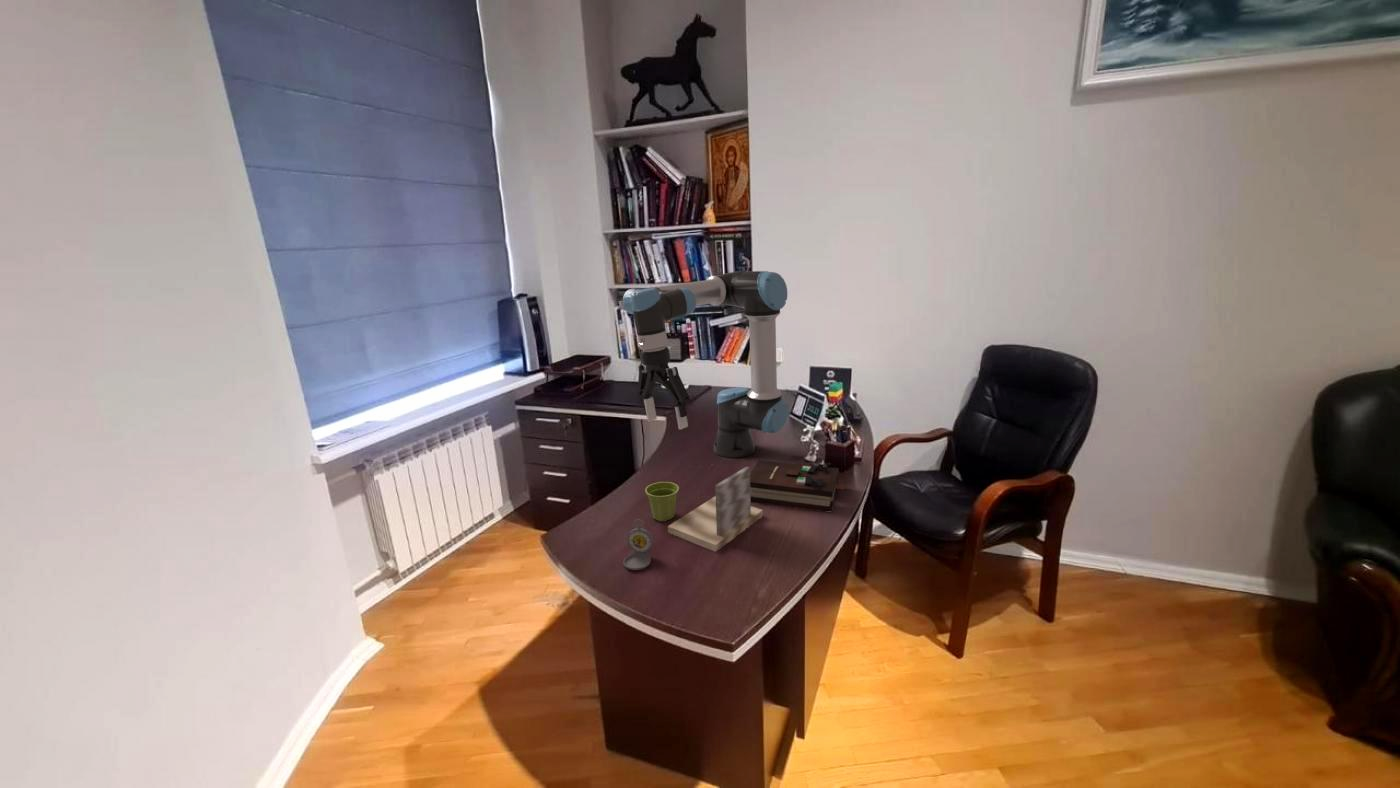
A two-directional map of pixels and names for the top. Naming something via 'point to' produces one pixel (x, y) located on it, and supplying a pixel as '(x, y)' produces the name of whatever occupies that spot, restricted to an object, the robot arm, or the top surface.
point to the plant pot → (662, 499)
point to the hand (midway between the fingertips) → (667, 424)
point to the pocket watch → (638, 548)
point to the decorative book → (794, 485)
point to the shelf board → (720, 514)
